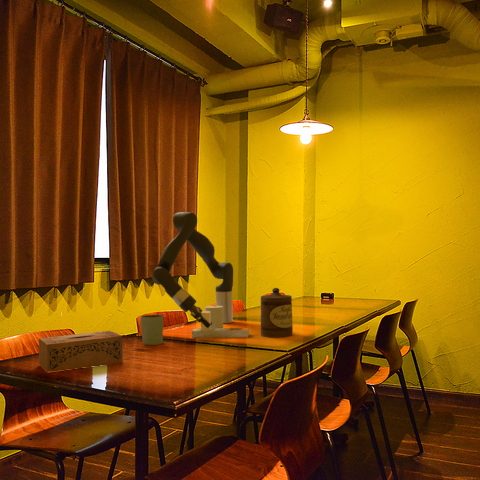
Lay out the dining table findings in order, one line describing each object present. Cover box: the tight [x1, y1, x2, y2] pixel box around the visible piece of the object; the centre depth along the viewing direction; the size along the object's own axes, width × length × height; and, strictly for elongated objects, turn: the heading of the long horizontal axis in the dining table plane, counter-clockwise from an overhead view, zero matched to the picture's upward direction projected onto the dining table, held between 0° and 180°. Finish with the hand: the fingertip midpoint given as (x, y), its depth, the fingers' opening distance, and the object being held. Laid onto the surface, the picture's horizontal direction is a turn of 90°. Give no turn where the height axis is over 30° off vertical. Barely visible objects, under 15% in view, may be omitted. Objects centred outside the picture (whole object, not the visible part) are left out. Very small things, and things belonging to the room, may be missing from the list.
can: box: [204, 304, 224, 328], centre depth 243 cm, size 9×9×12 cm
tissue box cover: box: [38, 330, 124, 372], centre depth 172 cm, size 26×14×10 cm, turn 123°
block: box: [200, 310, 211, 331], centre depth 225 cm, size 4×4×11 cm
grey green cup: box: [139, 313, 164, 346], centre depth 210 cm, size 10×10×12 cm
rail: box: [191, 327, 250, 339], centre depth 224 cm, size 8×26×3 cm, turn 84°
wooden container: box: [260, 287, 294, 338], centre depth 225 cm, size 15×15×22 cm
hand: (210, 325), depth 225 cm, fingers closed on block, 4 cm apart
